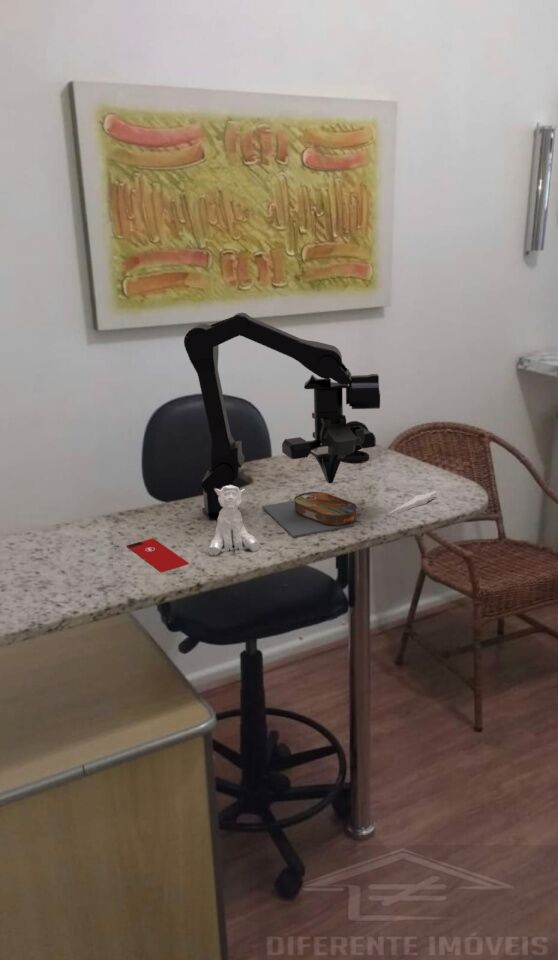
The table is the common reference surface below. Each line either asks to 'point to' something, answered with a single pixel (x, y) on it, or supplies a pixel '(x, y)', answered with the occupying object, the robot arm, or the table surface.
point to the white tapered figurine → (415, 502)
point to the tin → (325, 508)
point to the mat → (297, 520)
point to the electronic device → (157, 555)
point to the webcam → (356, 448)
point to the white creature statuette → (231, 524)
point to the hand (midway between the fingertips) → (329, 482)
